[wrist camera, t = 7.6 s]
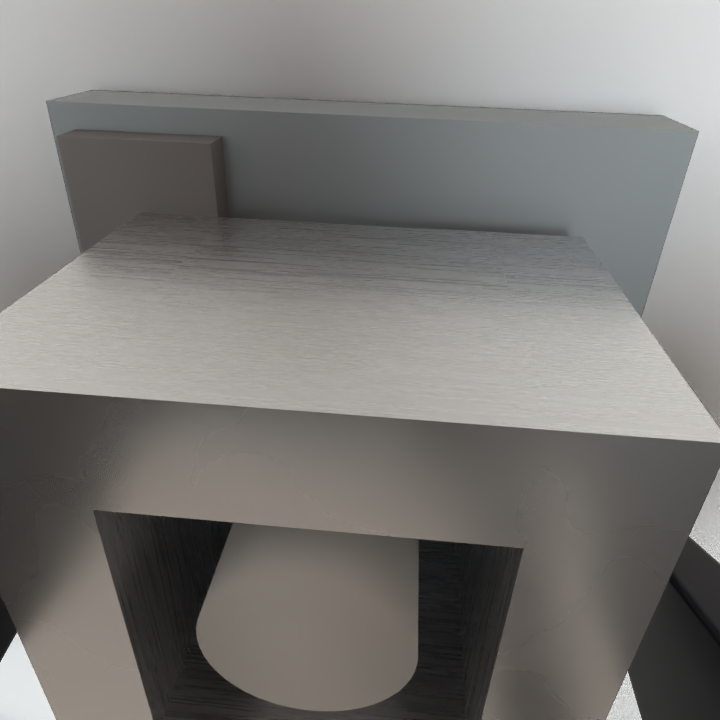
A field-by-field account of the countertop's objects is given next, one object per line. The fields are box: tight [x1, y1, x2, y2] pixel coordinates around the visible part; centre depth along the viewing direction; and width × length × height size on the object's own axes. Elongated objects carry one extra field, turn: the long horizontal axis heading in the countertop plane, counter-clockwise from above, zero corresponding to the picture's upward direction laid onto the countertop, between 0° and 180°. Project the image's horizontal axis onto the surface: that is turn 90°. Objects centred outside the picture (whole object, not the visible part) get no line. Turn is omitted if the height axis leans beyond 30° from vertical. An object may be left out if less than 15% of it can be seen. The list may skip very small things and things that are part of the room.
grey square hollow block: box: [0, 213, 720, 720], centre depth 9 cm, size 7×7×5 cm
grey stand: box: [46, 90, 699, 711], centre depth 10 cm, size 10×10×7 cm
